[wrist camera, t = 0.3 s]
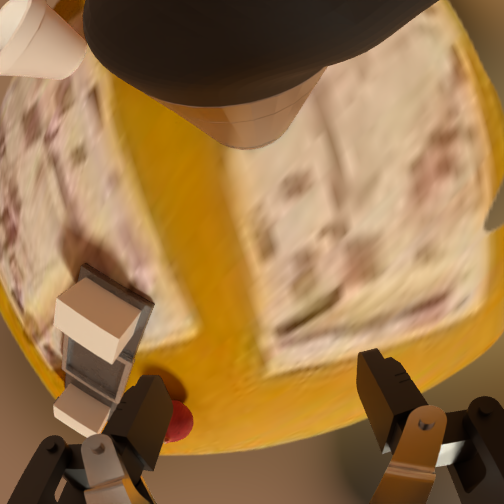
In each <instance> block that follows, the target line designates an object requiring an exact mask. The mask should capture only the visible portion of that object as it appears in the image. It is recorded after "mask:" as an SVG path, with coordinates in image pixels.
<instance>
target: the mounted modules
mask: <svg viewBox="0 0 504 504" xmlns="http://www.w3.org/2000/svg"><path fill="white" fill-rule="evenodd" d="M140 314H141V310H139V309H138V308H136V307H134V306H132V305H131V304H129V303H127V302H125V301H124V300H122V299H120V298H119V297H117V296H115V295H114V294H112V293H111V292H109V291H107V290H106V289H104V288H102V287H101V286H99V285H98V284H96V283H95V282H93V281H92V280H90V279H88V278H87V277H85V278H83V279H82V280H81V281H79V282H78V283H76V284H75V285H73V286H72V287H71V288H69V289H68V290H66V291H65V292H63V293H62V294H61V295H59V296H58V297H57V298H56V306H55V316H54V326H55V327H57V328H58V329H59V330H61V331H62V332H63V333H65V334H66V335H67V336H69V337H70V338H72V339H73V340H75V341H76V342H77V343H79V344H80V345H82V346H83V347H85V348H86V349H88V350H89V351H91V352H92V353H94V354H96V355H97V356H99V357H100V358H102V359H104V360H105V361H107V362H109V363H110V364H113V363H114V361H115V360H116V358H117V357H118V356H119V354H120V353H121V351H122V350H123V348H124V347H125V346H126V344H127V343H128V341H129V340H130V339H131V337H132V336H133V333H134V331H135V328H136V325H137V322H138V319H139V316H140ZM53 406H54V416H55V417H56V418H58V419H59V420H60V421H62V422H63V423H65V424H66V425H68V426H69V427H71V428H72V429H74V430H76V431H77V432H78V433H80V434H82V435H83V436H85V437H87V438H88V437H90V436H91V435H94V434H100V433H101V431H102V429H103V427H104V425H105V423H106V422H107V420H108V417H109V413H110V409H111V408H110V407H108V406H106V405H105V404H103V403H101V402H99V401H98V400H96V399H94V398H93V397H91V396H90V395H88V394H86V393H85V392H83V391H82V390H80V389H79V388H77V387H76V386H74V385H73V384H71V383H70V384H69V385H68V386H67V388H66V389H65V390H64V392H63V393H62V394H61V396H60V397H58V398H57V399H56V401H55V402H54V405H53Z"/></svg>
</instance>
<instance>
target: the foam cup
mask: <svg viewBox="0 0 504 504" xmlns="http://www.w3.org/2000/svg"><path fill="white" fill-rule="evenodd" d="M86 50H87V45H86V41H85V40H84V39H83V38H82V37H81V36H80V35H79V34H78V33H77V32H76V31H75V30H74V29H73V28H72V27H71V26H70V25H69V24H68V23H67V22H66V21H65V20H64V19H62V18H61V17H60V16H59V15H58V14H57V13H56V12H55V11H54V10H53V9H52V8H51V7H50V6H48V5H47V4H46V0H9V1H8V2H7V3H6V4H5V5H4V6H3V7H2V8H1V9H0V75H8V76H25V77H37V78H46V79H57V80H62V79H64V78H66V77H68V76H70V75H71V74H72V73H73V72H74V71H75V70H76V69H77V68H78V67H79V65H80V64H81V62H82V60H83V59H84V56H85V53H86Z"/></svg>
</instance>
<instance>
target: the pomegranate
mask: <svg viewBox="0 0 504 504" xmlns="http://www.w3.org/2000/svg"><path fill="white" fill-rule="evenodd" d="M172 403H173V414H172V417H171V420H170V423H169V426H168V429H167V432H166V435H165V438H164V441H163V443H164V444H167V443H168V442H175V441H179V440H181V439H183V438H185V437H186V436H188V434H189V433H190V431H191V430H192V427H193V416H192V413H191V411H190V410H189V409H188V408H187V407H186V406H185V405H184V404H183V403H181V402H180V401H178V400H172Z"/></svg>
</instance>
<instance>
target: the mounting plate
mask: <svg viewBox="0 0 504 504" xmlns="http://www.w3.org/2000/svg"><path fill="white" fill-rule="evenodd" d="M85 277H87V278H88V279H90V280H92V281H93V282H95V283H96V284H98V285H99V286H101V287H102V288H104V289H106V290H107V291H109V292H111V293H112V294H114V295H115V296H117V297H119V298H120V299H122V300H124V301H125V302H127V303H129V304H131V305H132V306H134V307H136V308H138V309H139V310H141V314H140V316H139V319H138V322H137V325H136V328H135V331H134V333H133V336H132V337H131V339H130V340H129V341H128V343H127V344H126V346H125V347H124V348H123V350H122V351H121V353H120V354H119V356H118V357H117V358H116V360H115V361H114V363H113V364H110V363H109V362H107V361H105V360H104V359H102V358H100V357H99V356H97V355H96V354H94V353H92V352H91V351H89V350H88V349H86V348H85V347H83V346H82V345H80V344H79V343H77V342H76V341H75V340H73V339H72V338H70V337H69V336H67V335H66V334H65V333H64V342H63V356H62V370H64V371H65V372H66V382H65V389H66V388H67V386H68V385H69V384H70V383H71V384H73V385H74V386H76V387H77V388H79V389H80V390H82V391H83V392H85V393H86V394H88V395H90V396H91V397H93V398H94V399H96V400H98V401H99V402H101V403H103V404H105V405H106V406H108V407H110V408H111V409H110V413H109V417H108V420H107V421H109V419H110V417H111V416H112V414H113V412H114V410H116V407H117V405H118V403H120V402H119V401H120V400H121V398H122V396H123V394H124V391H125V388H126V385H127V382H128V379H129V376H130V373H131V370H132V367H133V364H134V362H135V359H134V358H135V355H136V352H137V350H138V347H139V344H140V341H141V339H142V336H143V333H144V331H145V328H146V325H147V323H148V320H149V318H150V315H151V313H152V310H153V308H154V305H155V304H153V303H151V302H150V301H148V300H146V299H144V298H142V297H141V296H139V295H137V294H135V293H134V292H132V291H130V290H129V289H127V288H125V287H123V286H122V285H120V284H118V283H117V282H115V281H113V280H112V279H110V278H109V277H107V276H105V275H104V274H102V273H100V272H99V271H97V270H96V269H94V268H93V267H91V266H89V265H88V264H86V263H85V264H83V265H82V266H81V269H80V274H79V278H78V282H79V281H81V280H82V279H83V278H85Z"/></svg>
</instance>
